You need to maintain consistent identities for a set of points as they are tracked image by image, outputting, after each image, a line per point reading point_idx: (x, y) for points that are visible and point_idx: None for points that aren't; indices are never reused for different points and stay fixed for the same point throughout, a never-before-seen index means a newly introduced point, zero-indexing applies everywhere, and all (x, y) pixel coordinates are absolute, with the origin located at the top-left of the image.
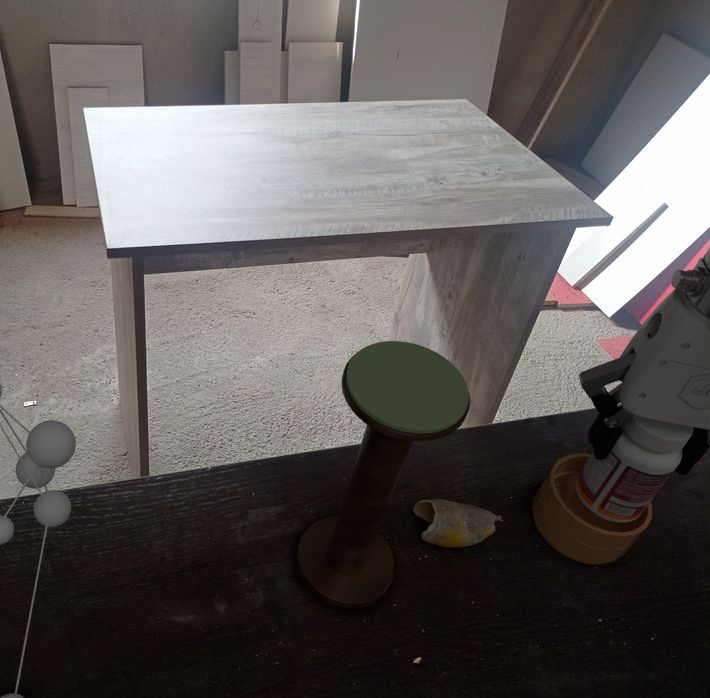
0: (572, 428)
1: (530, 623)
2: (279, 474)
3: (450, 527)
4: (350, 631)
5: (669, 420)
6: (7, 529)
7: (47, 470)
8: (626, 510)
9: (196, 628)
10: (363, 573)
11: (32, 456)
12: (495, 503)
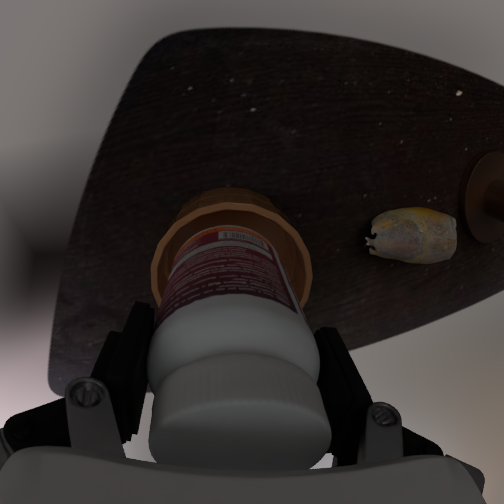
0: None
1: (345, 109)
2: (498, 284)
3: (439, 222)
4: (495, 130)
5: (343, 481)
6: None
7: None
8: (235, 236)
9: None
10: (489, 180)
11: None
12: (330, 273)
